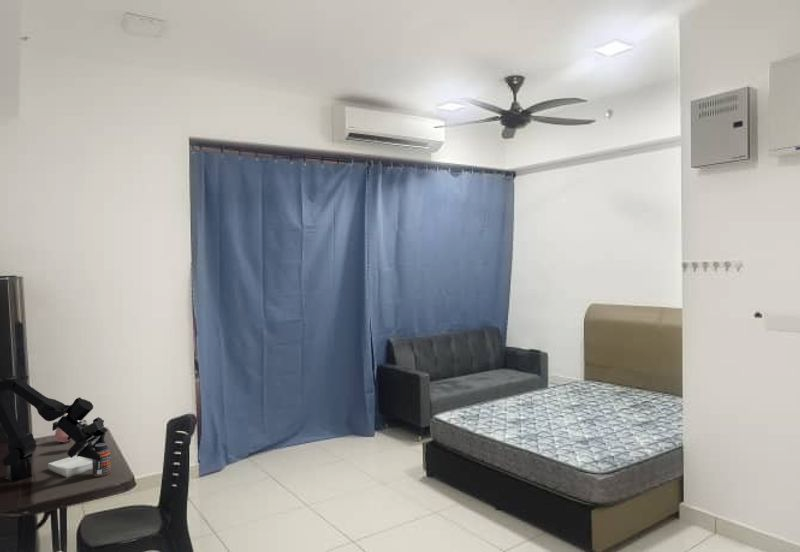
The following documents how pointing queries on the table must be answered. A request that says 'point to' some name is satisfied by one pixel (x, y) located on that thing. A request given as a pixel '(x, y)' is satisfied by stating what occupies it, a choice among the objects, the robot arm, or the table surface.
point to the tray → (71, 466)
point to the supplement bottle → (101, 461)
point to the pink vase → (61, 435)
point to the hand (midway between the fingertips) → (104, 456)
